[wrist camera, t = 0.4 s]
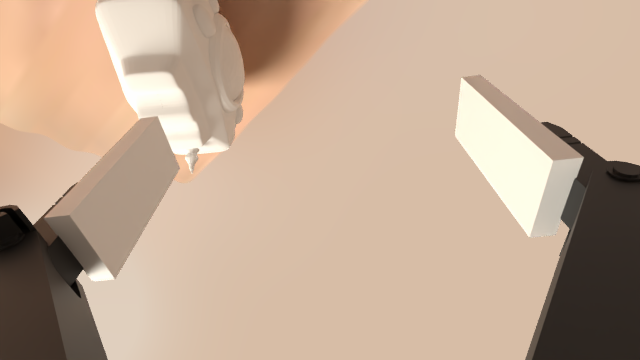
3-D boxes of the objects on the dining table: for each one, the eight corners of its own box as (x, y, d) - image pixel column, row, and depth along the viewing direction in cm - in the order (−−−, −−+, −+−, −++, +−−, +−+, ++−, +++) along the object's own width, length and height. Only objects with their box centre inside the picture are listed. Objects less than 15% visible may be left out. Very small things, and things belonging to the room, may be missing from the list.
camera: (177, 95, 46) (151, 190, 36) (107, -62, 32) (32, 22, 22) (259, 89, 46) (255, 181, 36) (226, -70, 32) (204, 9, 22)
